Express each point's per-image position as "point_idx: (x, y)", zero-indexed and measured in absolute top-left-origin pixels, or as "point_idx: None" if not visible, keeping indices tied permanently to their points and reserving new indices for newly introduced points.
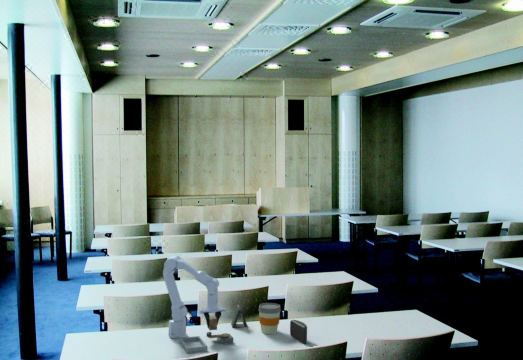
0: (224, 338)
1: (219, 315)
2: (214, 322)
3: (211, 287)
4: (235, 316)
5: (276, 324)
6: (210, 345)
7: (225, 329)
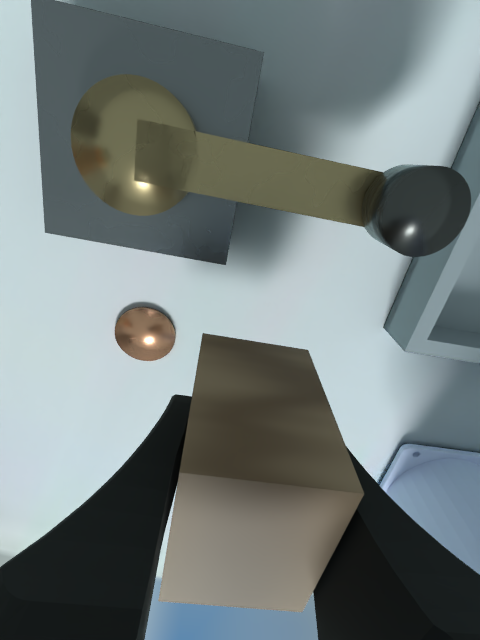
0: (193, 50)
1: (76, 562)
2: (246, 418)
3: None
4: None
5: None
6: (381, 121)
7: (38, 464)
